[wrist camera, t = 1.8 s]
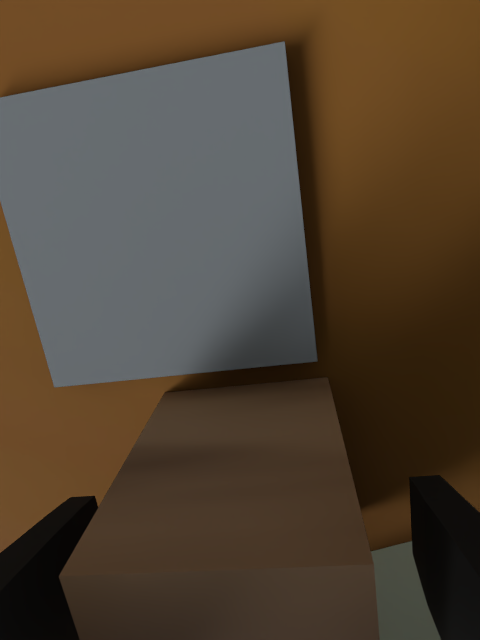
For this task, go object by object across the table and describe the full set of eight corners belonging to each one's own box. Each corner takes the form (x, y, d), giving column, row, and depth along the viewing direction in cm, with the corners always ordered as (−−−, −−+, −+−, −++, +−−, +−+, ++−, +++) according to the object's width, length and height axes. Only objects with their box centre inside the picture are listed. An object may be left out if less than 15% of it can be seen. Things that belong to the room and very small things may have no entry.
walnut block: (341, 516, 13) (390, 785, 7) (193, 523, 13) (125, 778, 8) (327, 376, 11) (374, 564, 6) (164, 391, 12) (58, 576, 6)
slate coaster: (315, 352, 11) (317, 361, 11) (65, 378, 12) (54, 387, 12) (284, 51, 9) (284, 41, 9) (-11, 107, 10) (-29, 102, 10)
